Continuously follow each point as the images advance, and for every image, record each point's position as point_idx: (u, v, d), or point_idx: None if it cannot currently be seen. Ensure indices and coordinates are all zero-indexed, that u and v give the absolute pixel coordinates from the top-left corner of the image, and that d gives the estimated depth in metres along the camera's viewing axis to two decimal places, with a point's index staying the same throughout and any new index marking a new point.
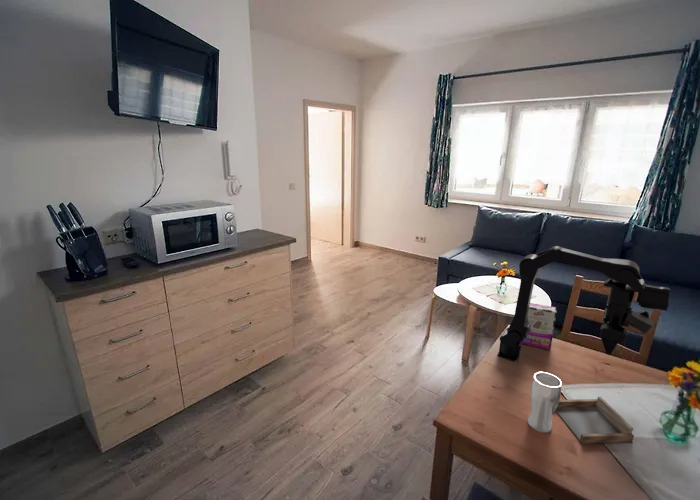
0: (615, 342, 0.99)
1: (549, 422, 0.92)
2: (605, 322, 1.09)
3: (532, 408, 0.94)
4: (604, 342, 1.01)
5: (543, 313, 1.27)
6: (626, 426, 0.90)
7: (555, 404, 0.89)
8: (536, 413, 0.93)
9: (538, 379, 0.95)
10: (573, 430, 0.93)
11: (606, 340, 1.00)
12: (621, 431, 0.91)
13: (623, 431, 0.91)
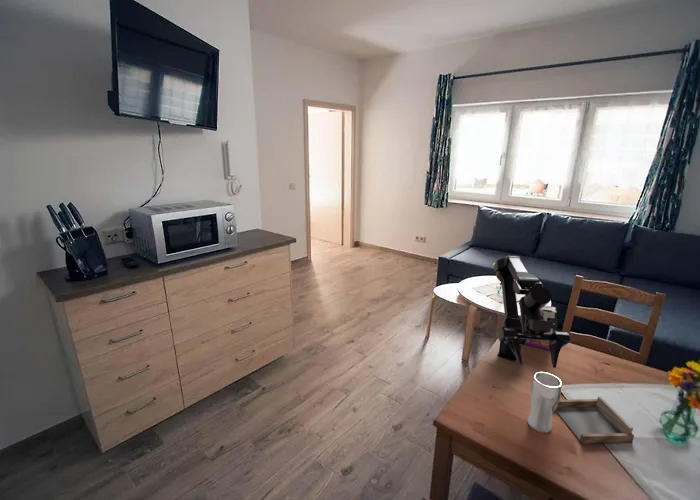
0: None
1: (549, 422, 0.92)
2: None
3: (532, 408, 0.94)
4: (512, 350, 1.03)
5: (543, 313, 1.27)
6: (626, 426, 0.90)
7: (555, 404, 0.89)
8: (536, 413, 0.93)
9: (538, 379, 0.95)
10: (573, 430, 0.93)
11: (512, 347, 1.03)
12: (621, 431, 0.91)
13: (623, 431, 0.91)
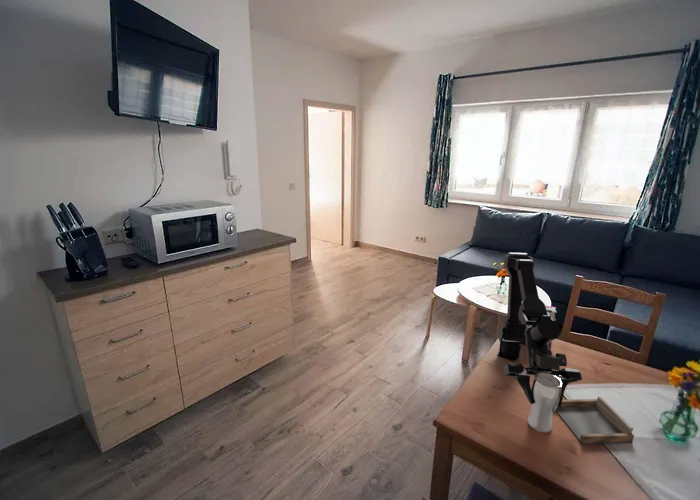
0: None
1: (549, 422, 0.92)
2: None
3: (532, 408, 0.93)
4: (522, 388, 0.96)
5: None
6: (626, 426, 0.90)
7: (555, 404, 0.89)
8: (536, 413, 0.93)
9: (538, 379, 0.95)
10: (573, 430, 0.93)
11: (522, 384, 0.96)
12: (621, 431, 0.91)
13: (623, 431, 0.91)
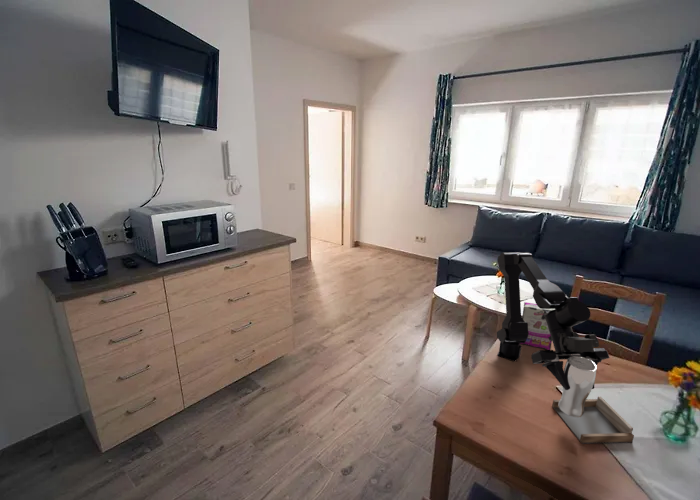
0: (557, 369, 0.91)
1: (583, 406, 0.90)
2: None
3: (566, 394, 0.91)
4: (553, 374, 0.93)
5: (543, 313, 1.27)
6: (626, 426, 0.90)
7: (591, 387, 0.87)
8: (571, 399, 0.90)
9: None
10: (573, 430, 0.93)
11: (553, 370, 0.93)
12: (621, 431, 0.91)
13: (623, 431, 0.91)
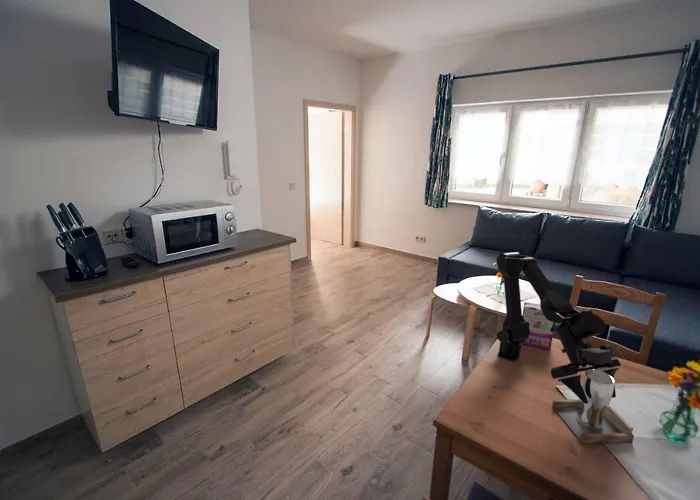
0: (574, 383, 0.92)
1: (602, 417, 0.93)
2: None
3: (586, 408, 0.93)
4: (570, 388, 0.93)
5: None
6: (626, 426, 0.90)
7: None
8: (592, 412, 0.92)
9: None
10: (573, 430, 0.93)
11: (570, 385, 0.93)
12: (621, 431, 0.91)
13: (623, 431, 0.91)
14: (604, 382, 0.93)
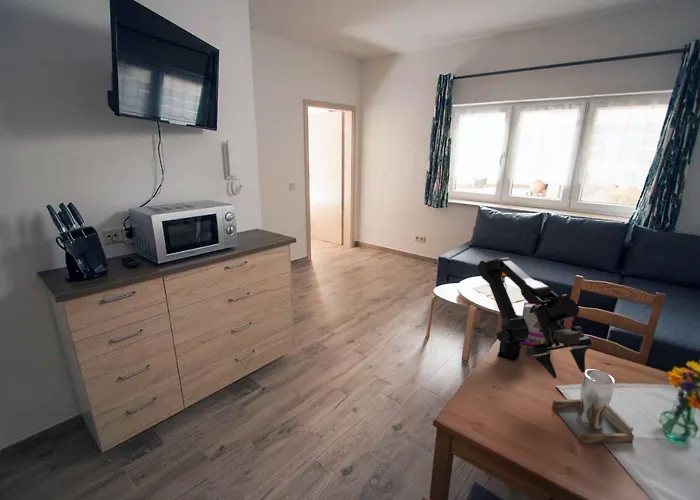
0: (545, 360, 1.02)
1: (602, 417, 0.93)
2: (571, 353, 1.06)
3: (586, 408, 0.93)
4: (542, 364, 1.04)
5: None
6: (626, 426, 0.90)
7: (610, 399, 0.90)
8: (591, 412, 0.92)
9: None
10: (573, 430, 0.93)
11: (542, 361, 1.04)
12: (621, 431, 0.91)
13: (623, 431, 0.91)
14: (604, 382, 0.93)
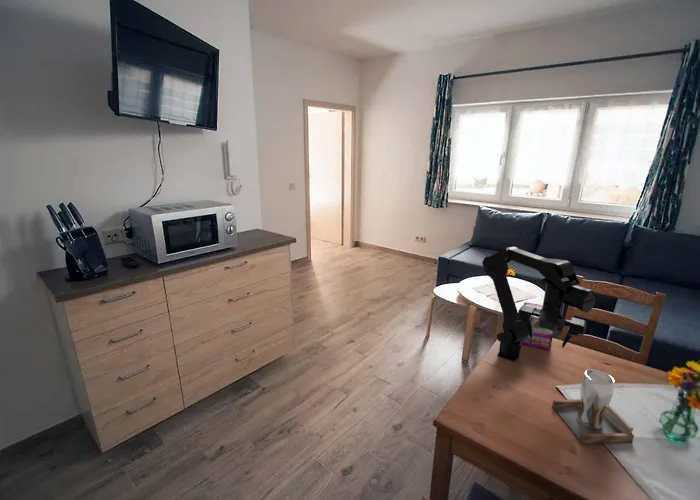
0: None
1: (602, 417, 0.93)
2: None
3: (586, 408, 0.93)
4: None
5: None
6: (626, 426, 0.90)
7: None
8: (592, 412, 0.92)
9: None
10: (573, 430, 0.93)
11: None
12: (621, 431, 0.91)
13: (623, 431, 0.91)
14: (604, 382, 0.93)
